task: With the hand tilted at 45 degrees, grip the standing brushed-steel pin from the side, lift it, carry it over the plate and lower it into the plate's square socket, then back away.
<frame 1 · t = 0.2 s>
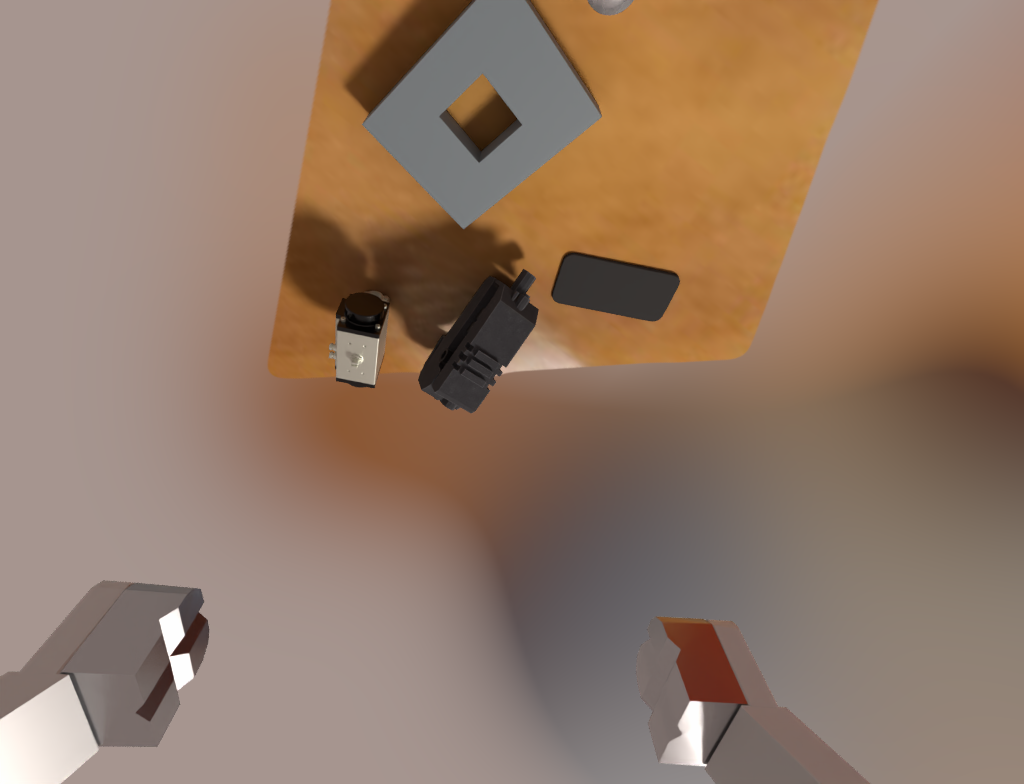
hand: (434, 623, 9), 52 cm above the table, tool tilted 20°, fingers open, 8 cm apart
socket plate: (482, 110, 50), on the table
pneumatic valve: (373, 302, 68), on the table
tool: (479, 311, 68), on the table
phone: (614, 285, 65), on the table
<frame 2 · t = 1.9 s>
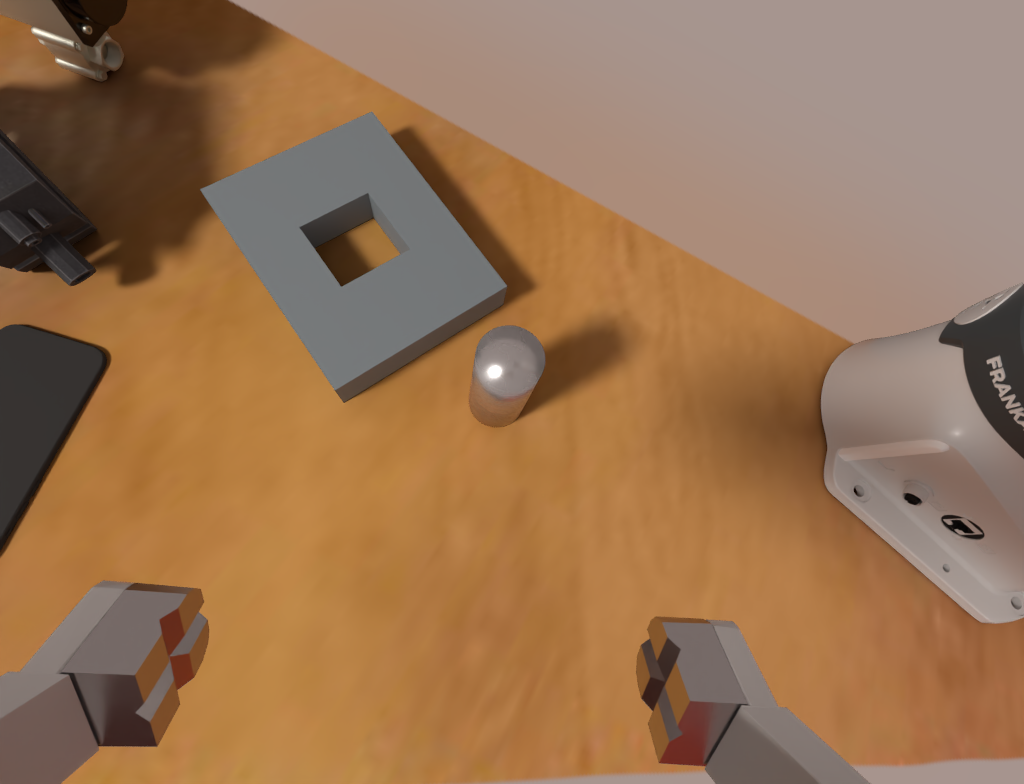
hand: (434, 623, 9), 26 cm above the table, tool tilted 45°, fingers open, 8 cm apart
socket plate: (361, 260, 39), on the table
steel pin: (496, 400, 38), on the table
pneumatic valve: (99, 61, 42), on the table
tool: (24, 204, 38), on the table
phone: (5, 442, 33), on the table
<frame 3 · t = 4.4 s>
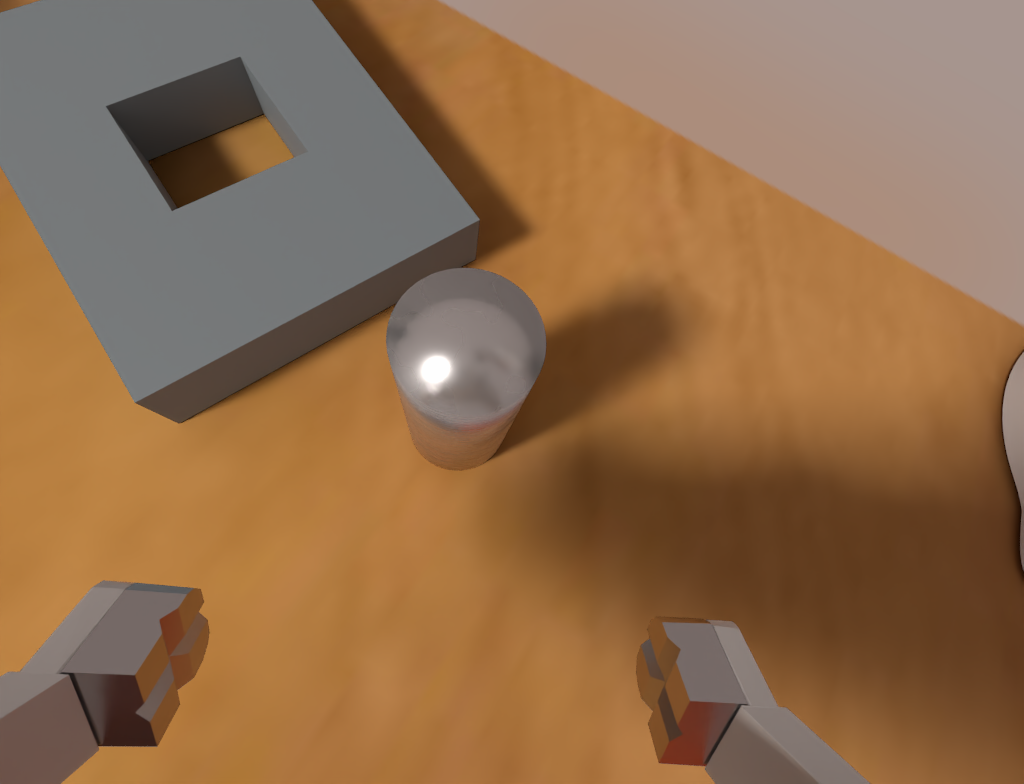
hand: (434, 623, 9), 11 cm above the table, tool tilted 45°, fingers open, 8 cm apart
socket plate: (236, 180, 23), on the table
steel pin: (458, 422, 21), on the table
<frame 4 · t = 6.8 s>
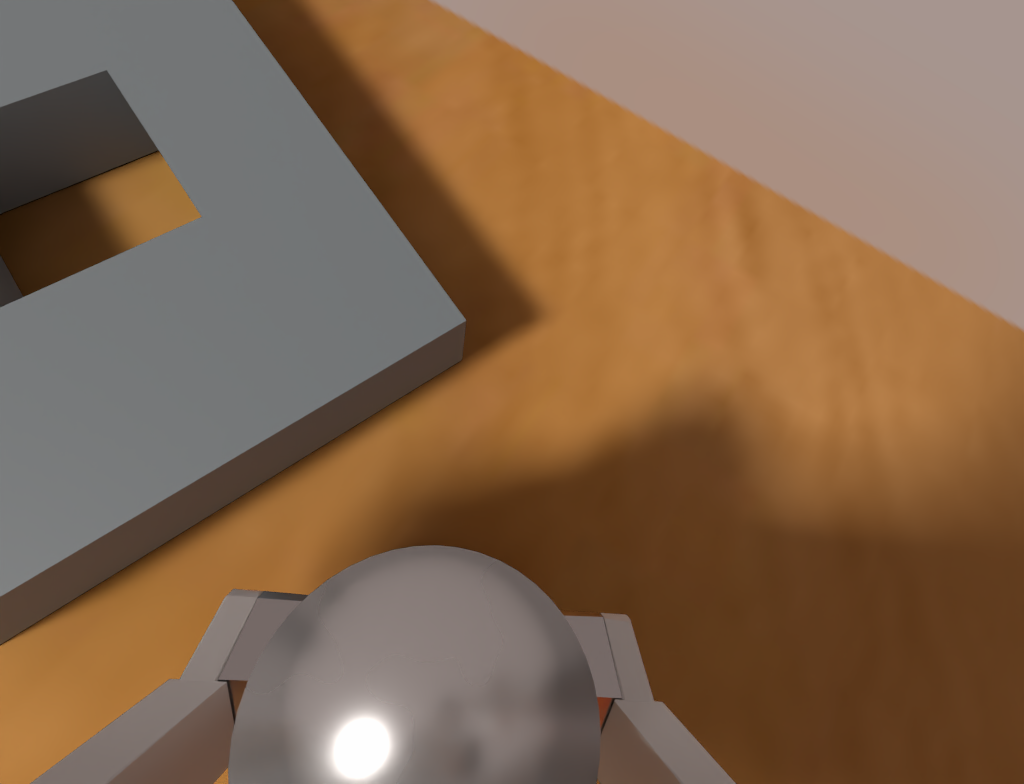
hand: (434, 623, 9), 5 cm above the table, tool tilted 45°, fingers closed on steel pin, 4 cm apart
socket plate: (115, 248, 16), on the table
steel pin: (434, 622, 14), on the table, touching gripper
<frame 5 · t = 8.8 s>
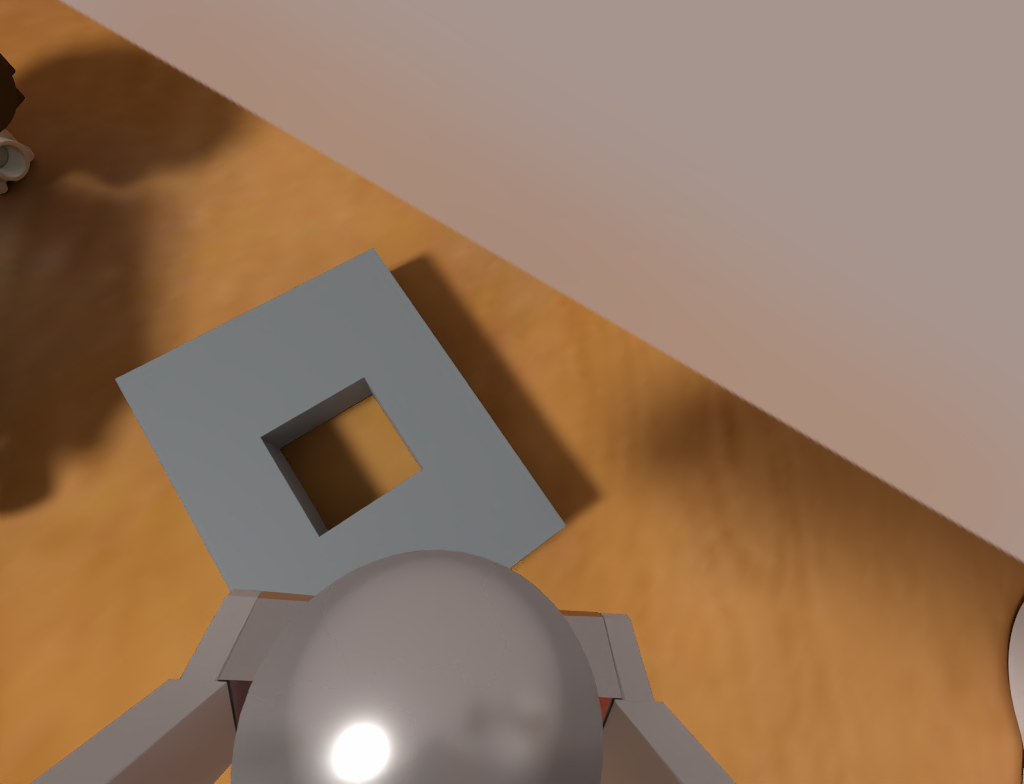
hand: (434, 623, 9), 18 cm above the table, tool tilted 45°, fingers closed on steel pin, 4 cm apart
socket plate: (353, 462, 28), on the table
steel pin: (435, 624, 14), point 13 cm above the table, touching gripper
pneumatic valve: (0, 163, 30), on the table
when the fingers open (7 cm above the table, at t = 11.2 s): steel pin drops 2 cm, resting in socket plate.
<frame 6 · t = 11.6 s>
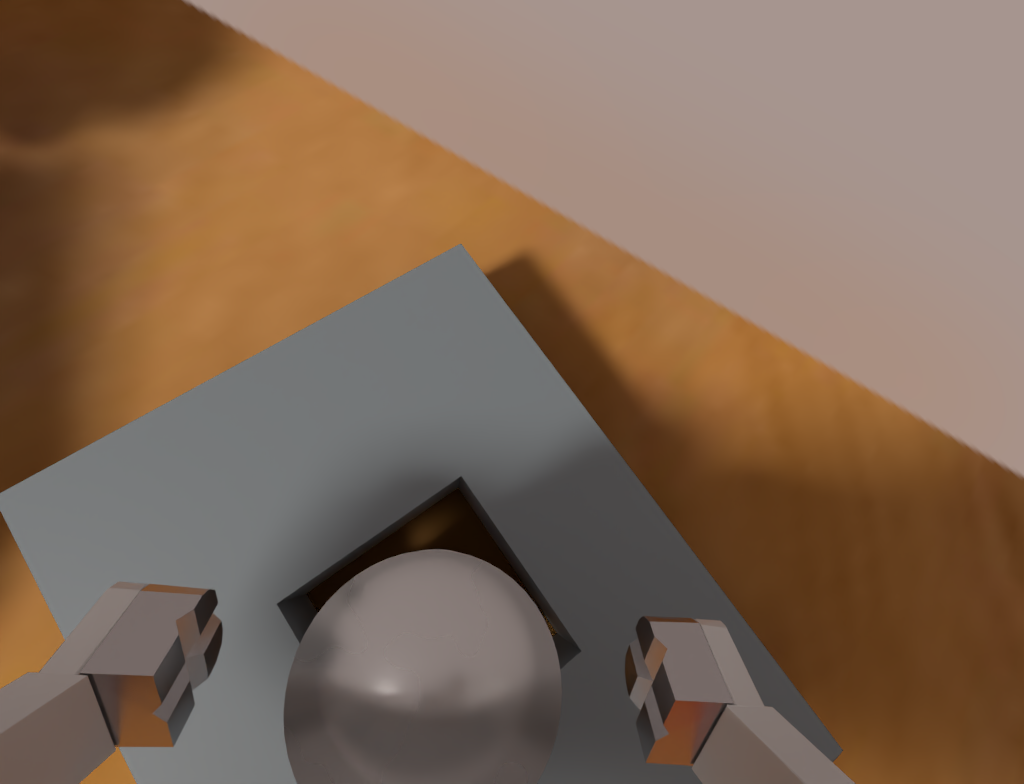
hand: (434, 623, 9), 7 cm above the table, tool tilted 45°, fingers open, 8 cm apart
socket plate: (434, 613, 16), on the table
steel pin: (435, 615, 16), resting in socket plate
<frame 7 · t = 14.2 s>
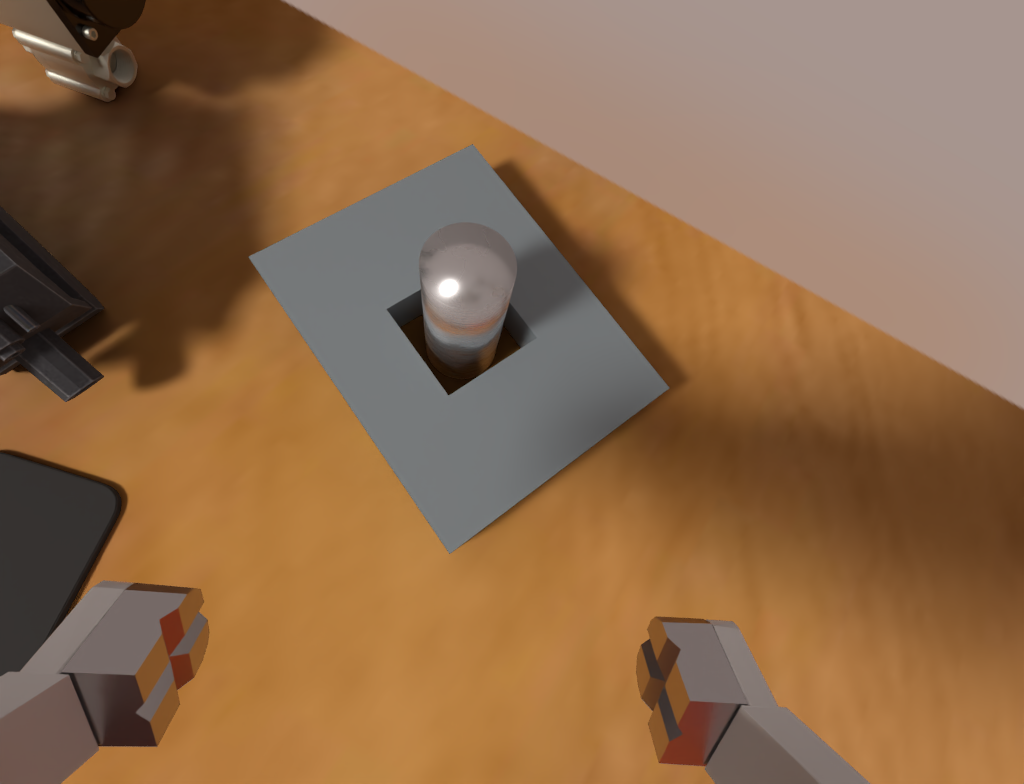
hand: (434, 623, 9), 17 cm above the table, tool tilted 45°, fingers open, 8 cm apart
socket plate: (460, 345, 29), on the table
steel pin: (461, 346, 29), resting in socket plate
pneumatic valve: (104, 74, 32), on the table
tool: (3, 273, 27), on the table
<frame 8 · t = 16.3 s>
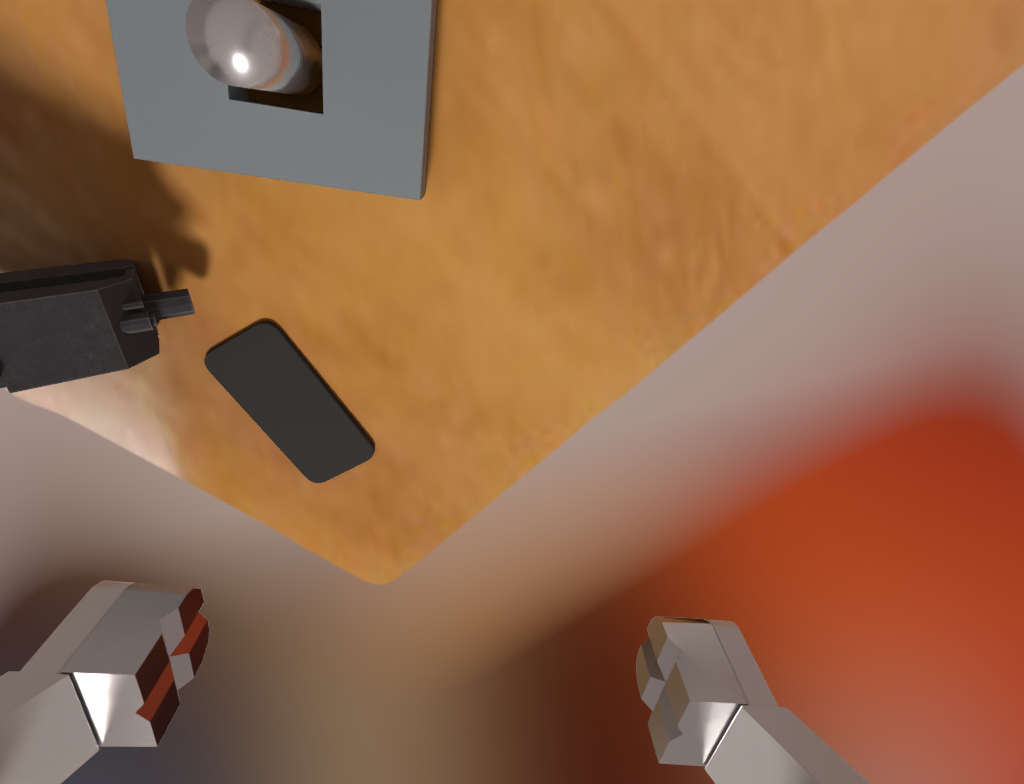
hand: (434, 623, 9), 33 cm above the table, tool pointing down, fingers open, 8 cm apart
socket plate: (290, 58, 33), on the table
steel pin: (292, 59, 33), resting in socket plate
tool: (77, 294, 39), on the table
phone: (297, 404, 45), on the table
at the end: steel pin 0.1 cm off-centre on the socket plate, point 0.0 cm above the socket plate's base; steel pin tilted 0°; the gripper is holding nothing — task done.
